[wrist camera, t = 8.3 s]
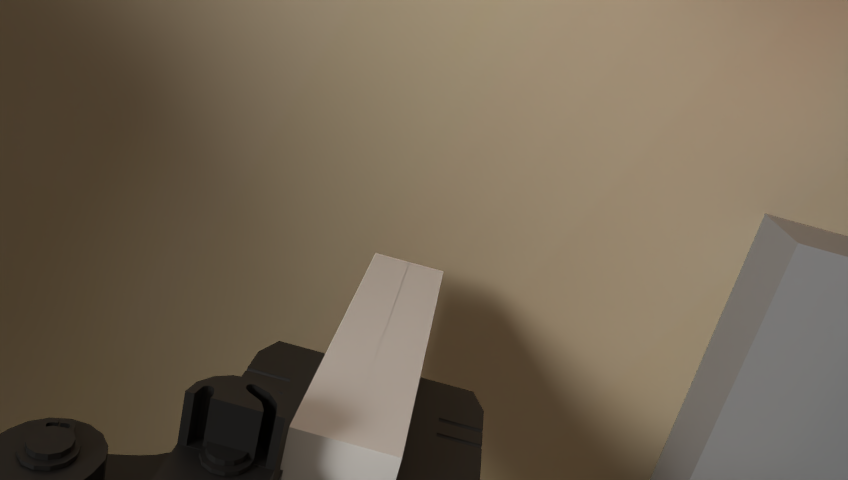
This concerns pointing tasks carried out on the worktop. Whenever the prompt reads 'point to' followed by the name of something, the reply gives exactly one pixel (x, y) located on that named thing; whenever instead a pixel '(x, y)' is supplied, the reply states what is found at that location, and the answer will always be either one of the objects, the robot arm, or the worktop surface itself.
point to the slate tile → (772, 368)
